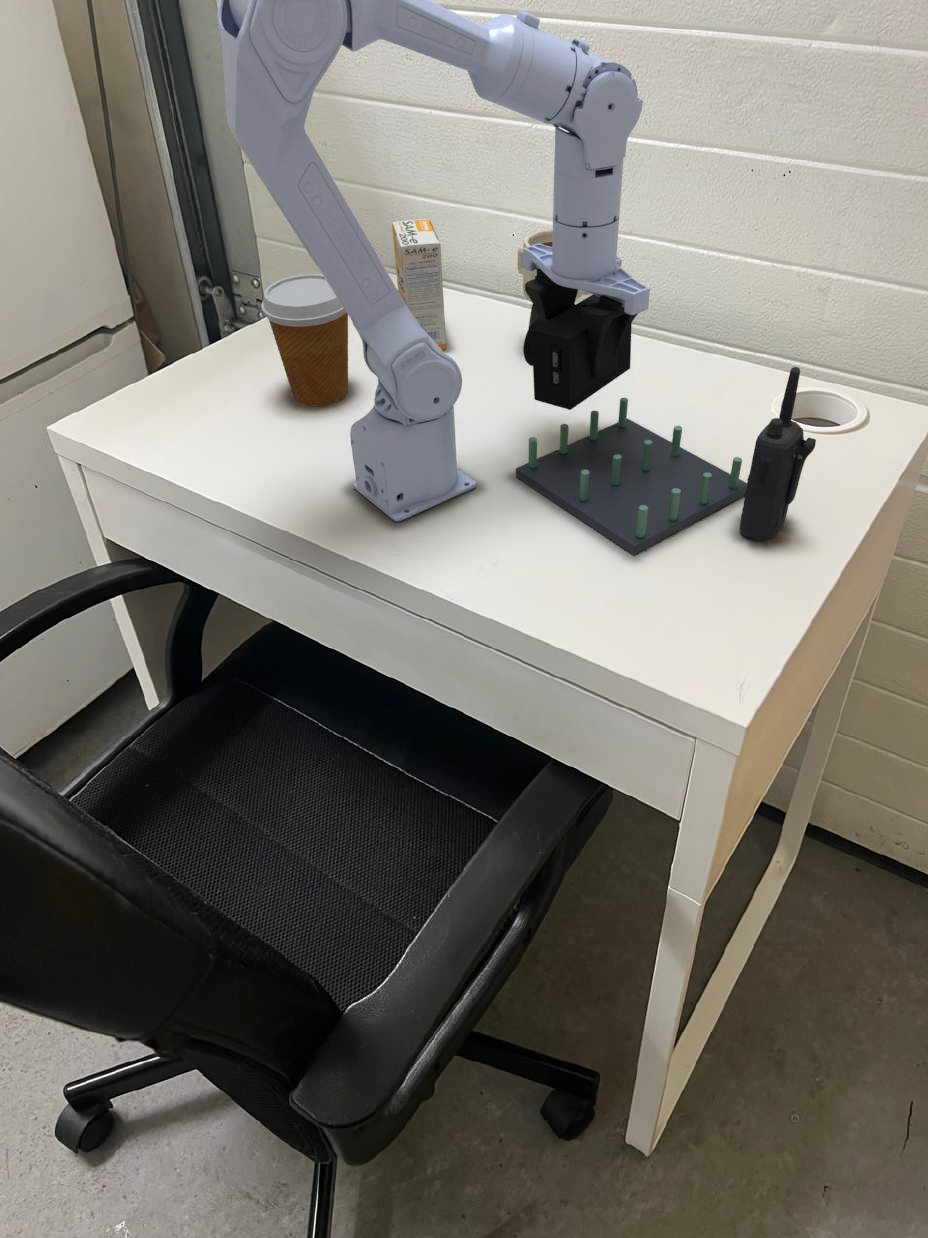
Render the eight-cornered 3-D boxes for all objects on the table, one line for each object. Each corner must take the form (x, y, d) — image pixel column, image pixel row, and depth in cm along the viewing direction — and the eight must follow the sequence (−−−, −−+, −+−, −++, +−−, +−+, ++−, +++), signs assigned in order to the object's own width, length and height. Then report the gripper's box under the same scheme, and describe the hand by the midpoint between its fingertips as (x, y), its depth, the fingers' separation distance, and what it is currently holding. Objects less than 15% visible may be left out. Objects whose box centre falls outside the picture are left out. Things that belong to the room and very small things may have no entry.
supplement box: (399, 326, 119) (390, 220, 110) (436, 322, 119) (430, 216, 111) (408, 354, 113) (399, 245, 104) (447, 350, 113) (441, 240, 104)
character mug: (607, 352, 111) (614, 241, 102) (568, 373, 107) (572, 260, 99) (537, 327, 117) (539, 220, 108) (499, 346, 113) (497, 237, 105)
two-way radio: (755, 506, 86) (786, 354, 76) (802, 521, 84) (841, 367, 74) (731, 536, 83) (760, 382, 73) (780, 553, 81) (817, 396, 71)
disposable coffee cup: (267, 411, 104) (246, 306, 96) (294, 371, 111) (276, 270, 103) (349, 415, 102) (335, 309, 94) (371, 375, 109) (360, 273, 101)
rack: (633, 555, 82) (637, 518, 79) (515, 476, 92) (515, 441, 89) (748, 493, 88) (755, 456, 85) (626, 426, 98) (629, 391, 95)
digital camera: (585, 357, 95) (584, 289, 91) (630, 368, 92) (632, 298, 88) (523, 397, 89) (520, 326, 85) (570, 410, 87) (569, 338, 82)
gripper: (680, 225, 78) (664, 375, 87) (564, 186, 87) (560, 326, 96) (619, 247, 75) (609, 400, 84) (505, 204, 84) (506, 346, 93)
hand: (579, 362), depth 89 cm, fingers closed on digital camera, 5 cm apart
